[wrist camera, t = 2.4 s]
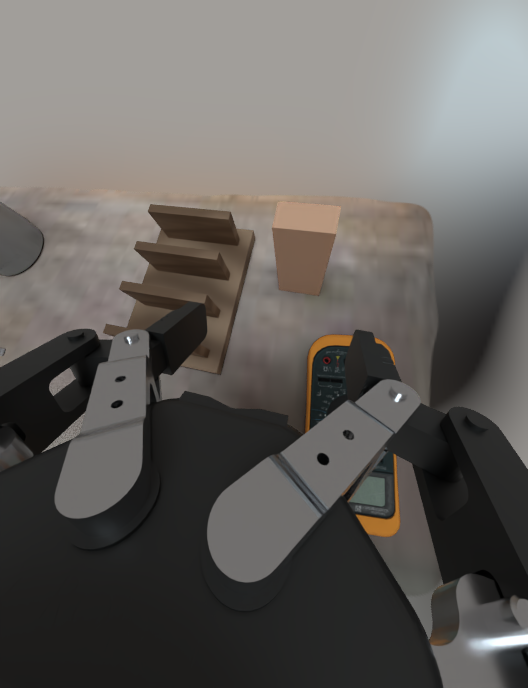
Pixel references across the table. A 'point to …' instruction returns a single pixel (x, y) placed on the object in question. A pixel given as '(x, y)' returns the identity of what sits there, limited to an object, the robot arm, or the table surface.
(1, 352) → the caliper
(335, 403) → the multimeter
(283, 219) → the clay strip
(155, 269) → the ridged wooden board
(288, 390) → the table surface
